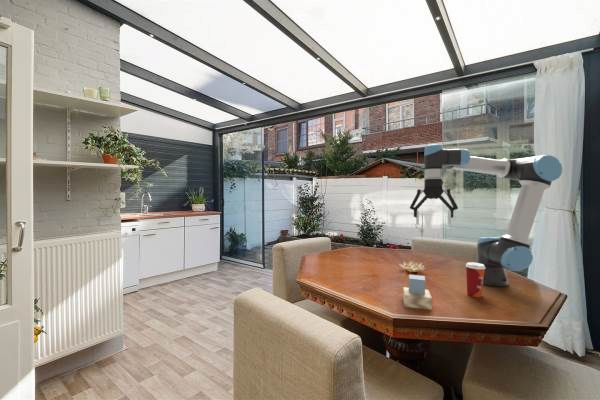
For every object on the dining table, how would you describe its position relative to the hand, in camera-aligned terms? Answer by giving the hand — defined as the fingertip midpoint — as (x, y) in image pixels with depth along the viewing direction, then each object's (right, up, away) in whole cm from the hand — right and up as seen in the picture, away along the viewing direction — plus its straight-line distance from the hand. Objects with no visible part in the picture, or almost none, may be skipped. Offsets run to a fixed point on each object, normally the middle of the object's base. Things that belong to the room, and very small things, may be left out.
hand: (433, 224), depth 137 cm
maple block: (-14, -31, -15) cm, 38 cm away
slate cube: (-13, -26, -15) cm, 33 cm away
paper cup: (+16, -31, -5) cm, 36 cm away
